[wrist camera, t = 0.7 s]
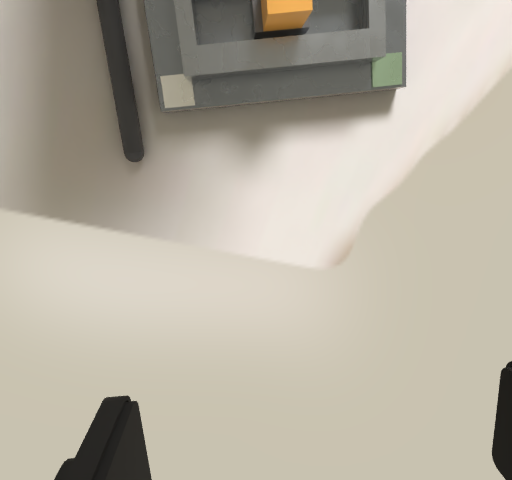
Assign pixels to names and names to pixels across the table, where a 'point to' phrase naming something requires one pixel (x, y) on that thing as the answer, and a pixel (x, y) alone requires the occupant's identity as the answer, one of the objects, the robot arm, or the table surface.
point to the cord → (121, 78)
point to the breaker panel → (242, 29)
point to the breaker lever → (280, 17)
